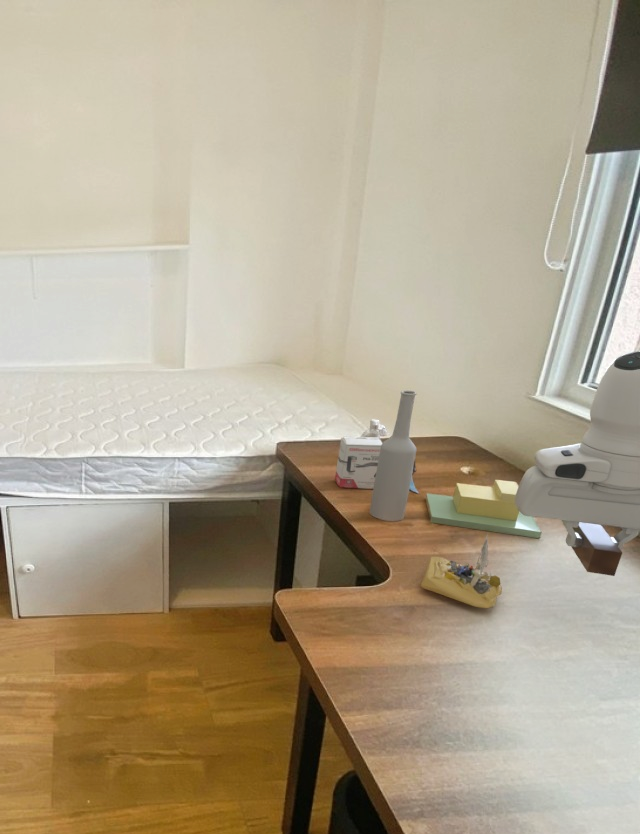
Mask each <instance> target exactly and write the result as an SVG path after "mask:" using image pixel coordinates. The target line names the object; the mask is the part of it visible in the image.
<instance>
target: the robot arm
mask: <svg viewBox="0 0 640 834" xmlns="http://www.w3.org/2000/svg"><path fill="white" fill-rule="evenodd" d="M589 417H590V423H589V426H588V429H587V430H586V432H585V433H584V434H583V436H582V438H581V441H580V443H575V444H569V445H563V446H556V447H550V448H549V447H548V448H542V449H539V450H537V451H536V452H535V454H534V461H535V464H536V465H535V464H534V465H533V466H531V467H529V468H528V469H527V470H526V471H524V472H525V473H524V474H523V476H522V478H521V480H520V482H519V484H518V489H517V492H516V496H515V501H514V502H515V505H516V507H517V509H518V510H519V511H520V513H521V514H522V515H525V516H532V517H534V518H541V519H548V520H557V521H561V522H562V525H563V526H564V528H565V530H566V532H567V534H566V538H565V543H566V545H567V546H568V547H571V546H573V547H582V544H581V543H583V540H584V538H583V536H582V535H581V534H580V533H576V532H574V530H573V528H572V527H575V528H577V527H578V525H579V522H582V523H590V524H598V525H601V526H606V527H607V526H608V527H615V528H620V529H621V530H620V531H619V532H618V533H617V534H615V535H614V536H610V537H611V538H612V540H613V541H614V542H615V544H616V545H617V546H618V548H619V549H620V550H621V551H622V550H623V547H624V545H625V544H627V543H629V542H630V541H632V540H634V539H635V538H637V537H638V536H639V533H640V350H638V351H632V352H627V353H625V354H622V355H620V356H618V357H616V358H614V359H613V360H612V361H611V363H610V364H609V365H608V367H606V370H605V372H604V373H603V375H602V377H601V380H600V381H599V383H598V385H597V388H596V391H595V394H594V397H593V400H592V403H591V407H590V410H589Z"/></svg>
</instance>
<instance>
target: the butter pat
mask: <svg viewBox="0 0 640 834" xmlns="http://www.w3.org/2000/svg"><path fill="white" fill-rule="evenodd" d="M492 487H494V490H495V492H496V494H497V496H498V498H499V500H500V501H505V502H513V503H515V502H514V501H515V496H516V492H517V489H518V487H519V484H518V483H517V482H516V481H511V480H503V479H502V480H501V479H494V483H493V486H492Z"/></svg>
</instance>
